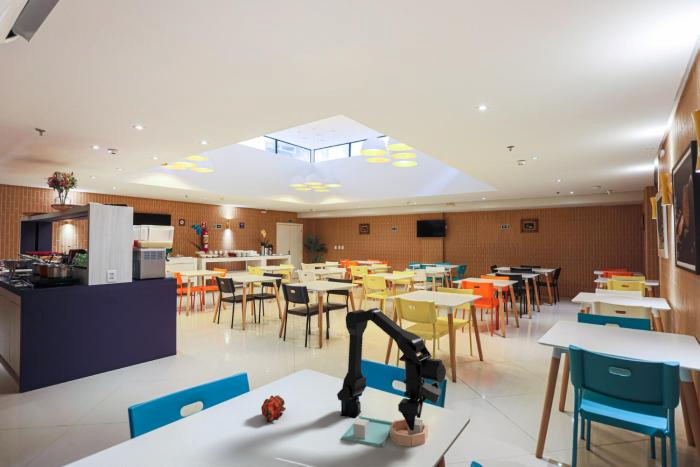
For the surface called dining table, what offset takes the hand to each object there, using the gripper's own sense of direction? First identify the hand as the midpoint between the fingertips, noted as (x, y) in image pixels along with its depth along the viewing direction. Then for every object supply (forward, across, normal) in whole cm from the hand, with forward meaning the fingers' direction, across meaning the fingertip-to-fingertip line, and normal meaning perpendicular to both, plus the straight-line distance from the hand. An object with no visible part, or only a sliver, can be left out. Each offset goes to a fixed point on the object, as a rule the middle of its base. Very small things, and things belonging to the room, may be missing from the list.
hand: (415, 423), depth 122 cm
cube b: (+4, 0, 0) cm, 4 cm away
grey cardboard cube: (+4, -6, +17) cm, 18 cm away
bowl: (+5, 0, +2) cm, 5 cm away
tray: (+5, -2, +16) cm, 16 cm away
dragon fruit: (+5, -4, +53) cm, 54 cm away
